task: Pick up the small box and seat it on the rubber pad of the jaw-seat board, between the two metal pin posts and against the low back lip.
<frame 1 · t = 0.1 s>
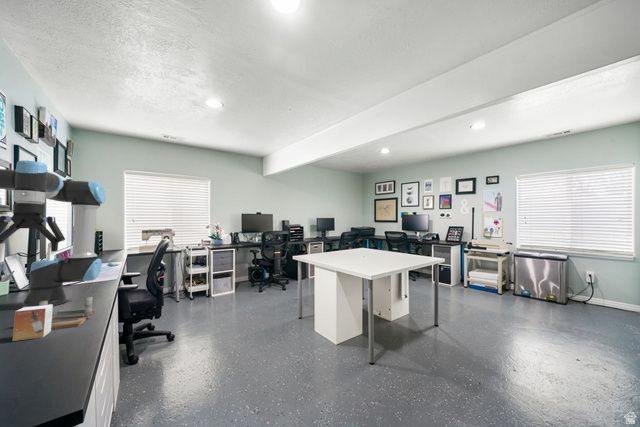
hand: (25, 261, 91), 28 cm above the table, fingers open, 13 cm apart
small box: (32, 337, 91), on the table
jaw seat: (65, 321, 106), on the table
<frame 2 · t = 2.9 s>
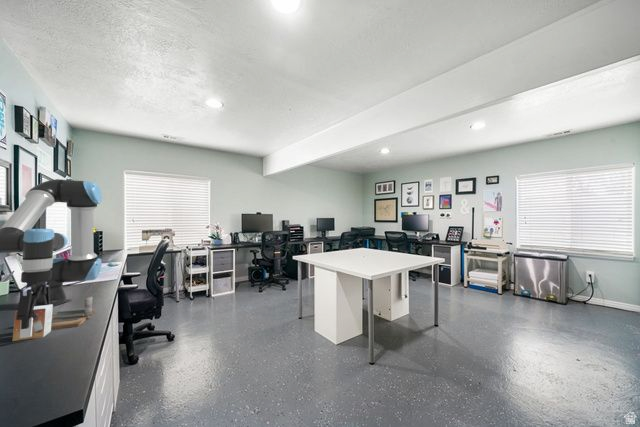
hand: (33, 332, 92), 1 cm above the table, fingers open, 8 cm apart
nothing on the table moved.
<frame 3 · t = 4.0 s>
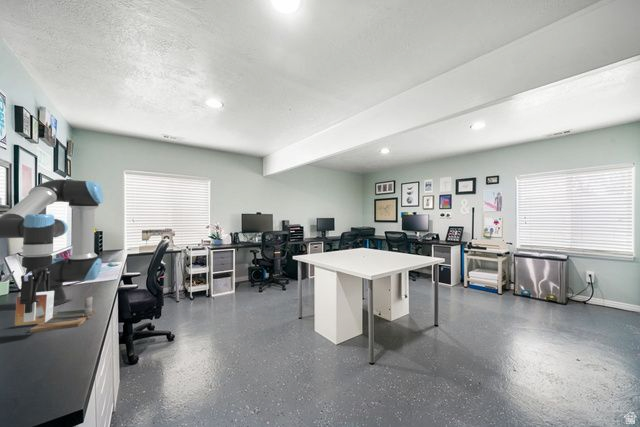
hand: (34, 317, 92), 6 cm above the table, fingers closed on small box, 6 cm apart
small box: (34, 322, 92), point 5 cm above the table, touching gripper
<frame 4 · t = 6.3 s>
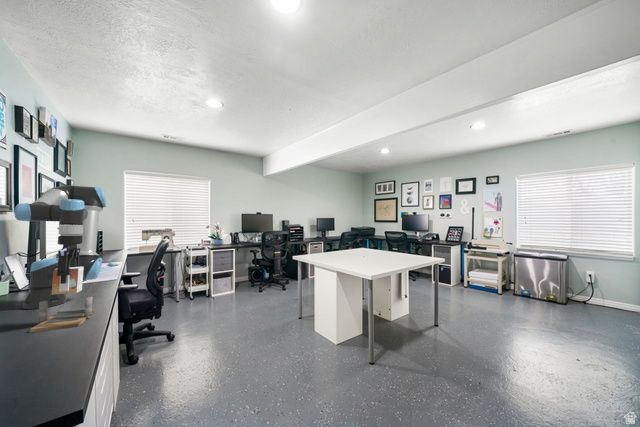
hand: (67, 289, 106), 14 cm above the table, fingers closed on small box, 6 cm apart
small box: (67, 293, 106), point 12 cm above the table, touching gripper
when the fingers open (3 cm above the table, at t = 8.8 s): small box stays where it is, resting on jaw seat.
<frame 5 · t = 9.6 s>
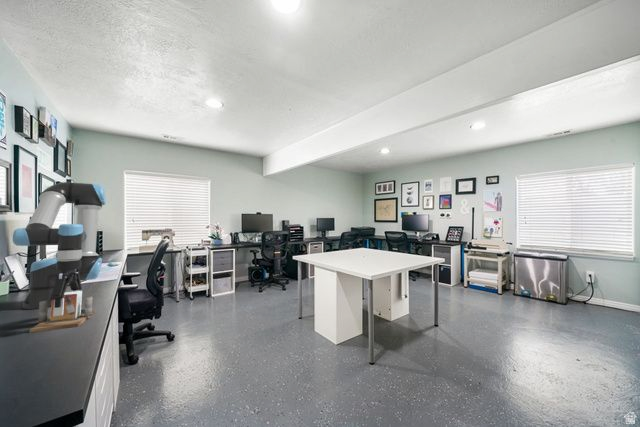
hand: (66, 310, 106), 5 cm above the table, fingers open, 13 cm apart
small box: (66, 318, 106), point 1 cm above the table, touching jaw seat
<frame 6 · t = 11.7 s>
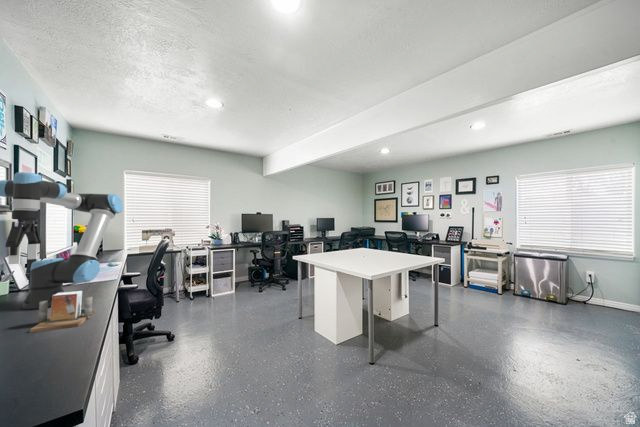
hand: (23, 261, 103), 26 cm above the table, fingers open, 13 cm apart
nothing on the table moved.
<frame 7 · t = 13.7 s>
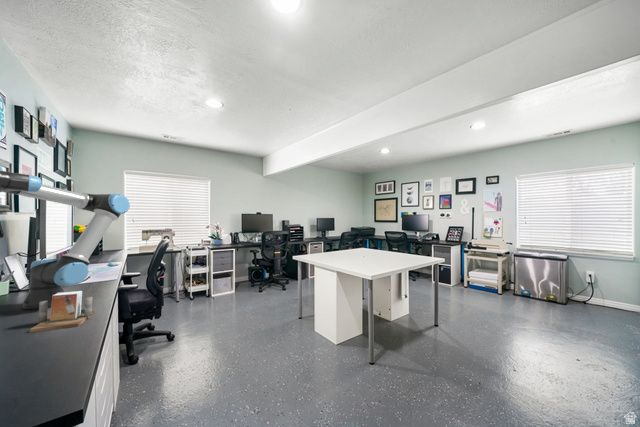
nothing on the table moved.
at the end: small box inside the target area on the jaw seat (0.1 cm from its centre), point 1.2 cm above the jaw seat's base; small box tilted 0°; the gripper is holding nothing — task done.
